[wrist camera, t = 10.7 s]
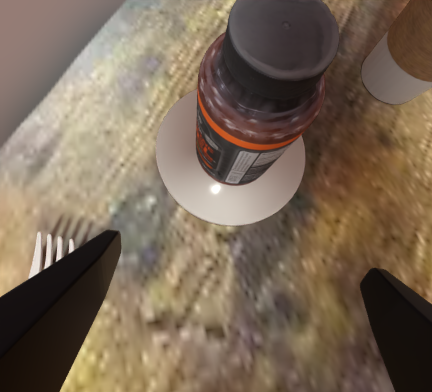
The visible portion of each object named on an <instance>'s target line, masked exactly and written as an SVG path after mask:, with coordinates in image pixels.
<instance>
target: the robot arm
mask: <svg viewBox="0 0 432 392" xmlns="http://www.w3.org/2000/svg"><path fill="white" fill-rule="evenodd" d="M120 254H121V234H120V232H119V231H117V230H110V229H108V230H105V231H104V232H102V233H101V234H99V235H97V236H96V237H94V238H93V239H91V240H90V241H88V242H86V243H85V244H83V245H82V246H80V247H79V248H77V249H75V250H74V251H72V252H71V253H69V254H67V255H66V256H64V257H63V258H61V259H60V260H58V261H56V262H55V263H53V264H52V265H50V266H49V267H47V268H45V269H44V270H42V271H41V272H39V273H38V274H36V275H34V276H33V277H31V278H30V279H28V280H26V281H25V282H23V283H22V284H20V285H19V286H17V287H15V288H14V289H12V290H11V291H9V292H8V293H6V294H4V295H3V296H1V297H0V392H60V390H61V387H62V385H63V383H64V381H65V379H66V377H67V375H68V373H69V371H70V369H71V367H72V365H73V363H74V361H75V359H76V357H77V355H78V352H79V350H80V348H81V346H82V344H83V342H84V340H85V338H86V336H87V334H88V332H89V330H90V328H91V326H92V324H93V322H94V320H95V317H96V315H97V313H98V311H99V309H100V307H101V305H102V303H103V301H104V299H105V296H106V294H107V291H108V288H109V285H110V283H111V280H112V277H113V274H114V271H115V269H116V266H117V263H118V260H119V257H120ZM360 290H361V293H362V297H363V300H364V304H365V308H366V311H367V315H368V318H369V322H370V325H371V329H372V332H373V335H374V337H375V340H376V343H377V345H378V348H379V350H380V353H381V356H382V358H383V361H384V364H385V366H386V369H387V371H388V374H389V377H390V379H391V382H392V385H393V387H394V390H395V392H432V304H431V303H429V302H428V301H427V300H425V299H424V298H423V297H421V296H420V295H419V294H417V293H416V292H414V291H413V290H412V289H410V288H409V287H408V286H406V285H405V284H404V283H402V282H401V281H400V280H398V279H397V278H396V277H394V276H393V275H392V274H390V273H389V272H388V271H386V270H384V269H379V268H371V269H370V270H369V271H368V273H367V274H366V275H365V277H364V278H363V280H362V281H361V283H360Z"/></svg>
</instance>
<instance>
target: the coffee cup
mask: <svg viewBox="0 0 432 392" xmlns="http://www.w3.org/2000/svg"><path fill="white" fill-rule="evenodd" d="M361 77H362V81H363V83H364V85H365V87H366V88H367V90H368V91H369V92H370V93H371V94H372V95H373V96H374V97H375V98H377V99H378V100H380V101H382V102H385V103H388V104H403V103H406V102H408V101H410V100H412V99H413V98H415V97H417V96H419V95H420V94H422V93H424V92H425V91H427V90H429V89H431V88H432V0H410V2H409V3H408V4H407V6H406V7H405V8H404V9H403V11H402V12H401V13H400V15H399V16H398V17H397V19H396V20H395V21H394V23H393V24H392V25H391V27H390V29H389V30H388V31H387V33H386V34H385V35H384V36H383V38H382V39H381V40H380V41H379V43H378V44H377V45H376V46H375V48H374V49H373V50H372V51H371V53H370V54H369V55H368V56H367V58H366V59H365V60H364V62H363V65H362V69H361Z"/></svg>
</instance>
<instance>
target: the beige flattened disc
mask: <svg viewBox="0 0 432 392" xmlns="http://www.w3.org/2000/svg"><path fill="white" fill-rule="evenodd" d="M196 117H197V89H196V90H193V91H191V92H189V93H188V94H186V95H185V96H183V97H182V98H181V99H180V100H178V101H177V102H176V103H175V104H174V105H173V106H172V107H171V109H170V110H169V111H168V113H167V114H166V116H165V117H164V119H163V121H162V123H161V125H160V128H159V131H158V135H157V141H156V159H157V165H158V169H159V173H160V175H161V177H162V180H163V182H164V184H165V187H166V188H167V190H168V192H169V193H170V195H171V196H172V197H173V198H174V200H175V201H176V202H177V203H178V204H179V205H180V206H181V207H182V208H183V209H184V210H186V211H187V212H189V213H190V214H191V215H193V216H195V217H197V218H199V219H201V220H203V221H206V222H208V223H212V224H216V225H221V226H242V225H248V224H252V223H255V222H258V221H260V220H263V219H265V218H267V217H269V216H271V215H273V214H274V213H276V212H277V211H279V210H280V209H281V208H282V207H283V206H285V205H286V204H287V203H288V201H289V200H290V199H291V198H292V197H293V195H294V194H295V192H296V191H297V189H298V187H299V185H300V182H301V180H302V176H303V173H304V168H305V147H304V142H303V138H302V135H301V136H300V137H299V138H298V139H297V140H296V141H295V142H294V143H293V144H292V145H291V146H290V147H289V148H288V149H287V150H286V151H285V152H284V153H283V154H282V155H281V156H280V157H279V158H278V159H277V160H276V161H275V162H274V163H273V165H272V166H271V167H270V168H269V169H268V170H267V171H266V172H265V173H264V174H263V175H261V176H260V177H259V178H258V179H257V180H255V181H253V182H251V183H249V184H246V185H241V186H230V185H225V184H222V183H219V182H217V181H215V180H214V179H213V178H211V177H210V176H209V175H208V174H207V173H206V172H205V171H204V170H203V168H202V167H201V165H200V163H199V161H198V158H197V154H196Z"/></svg>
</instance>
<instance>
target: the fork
mask: <svg viewBox="0 0 432 392" xmlns="http://www.w3.org/2000/svg"><path fill="white" fill-rule="evenodd" d="M74 250H75V246H74V241H73V239H72V238H71V239H70V243H69V253H71V252H72V251H74ZM61 258H63V241H62V237H61V236H59V237H58V246H57V257H56V261H58V260H60V259H61ZM42 260H43V245H42V233H41V232H38V234H37V241H36V247H35V252H34V258H33V263H32V267H31V271H30V275H29V278H28V279H30V278H31V277H33V276H34V275H36V274H38V273H39V272H41V271H42ZM52 264H53V243H52V235H51V234H48V236H47V251H46V262H45V268H47V267H49V266H50V265H52ZM45 268H44V269H45Z"/></svg>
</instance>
